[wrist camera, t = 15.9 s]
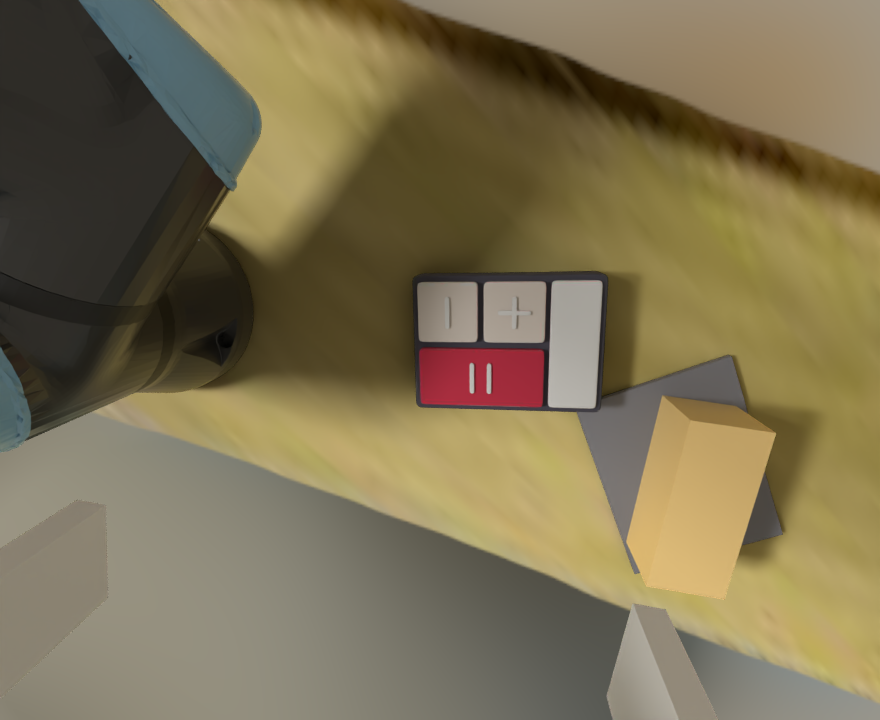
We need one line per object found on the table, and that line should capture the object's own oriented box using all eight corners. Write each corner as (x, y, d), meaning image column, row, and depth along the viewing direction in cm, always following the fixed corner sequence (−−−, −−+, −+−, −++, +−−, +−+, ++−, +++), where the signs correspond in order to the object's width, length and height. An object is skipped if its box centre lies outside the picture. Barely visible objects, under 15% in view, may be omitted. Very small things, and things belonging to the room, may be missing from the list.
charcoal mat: (574, 406, 43) (575, 408, 43) (728, 354, 41) (731, 356, 40) (633, 569, 46) (634, 574, 46) (778, 530, 44) (782, 534, 44)
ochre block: (724, 599, 39) (776, 433, 35) (646, 586, 39) (690, 420, 36) (693, 552, 45) (736, 405, 41) (626, 541, 45) (662, 395, 42)
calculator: (409, 276, 39) (611, 274, 36) (420, 272, 43) (601, 270, 41) (414, 410, 41) (602, 416, 39) (423, 395, 45) (594, 399, 43)
